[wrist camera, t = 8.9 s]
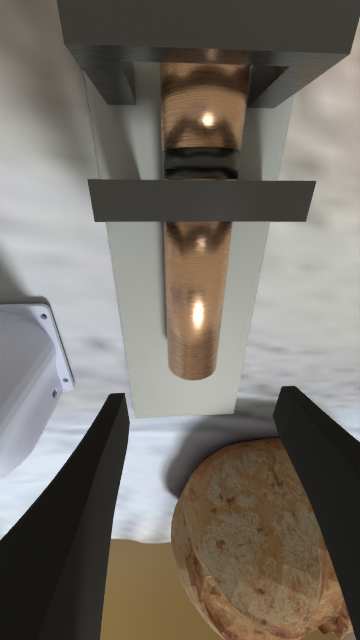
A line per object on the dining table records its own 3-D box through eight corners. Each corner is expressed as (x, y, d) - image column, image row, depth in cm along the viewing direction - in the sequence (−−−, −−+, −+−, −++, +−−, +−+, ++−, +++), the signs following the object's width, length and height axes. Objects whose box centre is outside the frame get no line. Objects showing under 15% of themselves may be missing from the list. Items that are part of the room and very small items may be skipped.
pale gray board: (232, 409, 26) (233, 413, 26) (135, 413, 26) (134, 418, 25) (302, 26, 11) (308, 18, 11) (78, 16, 11) (74, 8, 10)
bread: (264, 522, 44) (305, 662, 31) (149, 510, 39) (140, 673, 26) (366, 446, 32) (501, 622, 19) (219, 413, 27) (269, 627, 14)
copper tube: (206, 345, 21) (224, 375, 18) (163, 351, 20) (174, 384, 17) (228, 65, 12) (274, 18, 8) (152, 55, 11) (170, -2, 8)
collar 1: (273, 108, 13) (349, 53, 7) (107, 104, 12) (64, 43, 7) (279, 69, 12) (369, -22, 7) (103, 64, 11) (50, -39, 6)
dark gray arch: (257, 209, 15) (305, 221, 10) (119, 209, 15) (94, 221, 9) (261, 182, 14) (316, 181, 9) (116, 181, 14) (87, 179, 9)
